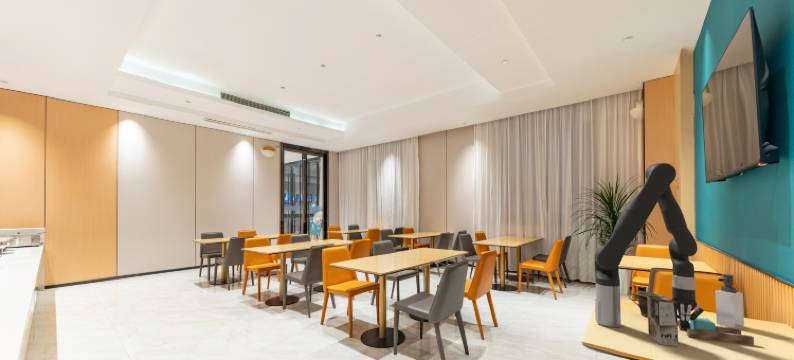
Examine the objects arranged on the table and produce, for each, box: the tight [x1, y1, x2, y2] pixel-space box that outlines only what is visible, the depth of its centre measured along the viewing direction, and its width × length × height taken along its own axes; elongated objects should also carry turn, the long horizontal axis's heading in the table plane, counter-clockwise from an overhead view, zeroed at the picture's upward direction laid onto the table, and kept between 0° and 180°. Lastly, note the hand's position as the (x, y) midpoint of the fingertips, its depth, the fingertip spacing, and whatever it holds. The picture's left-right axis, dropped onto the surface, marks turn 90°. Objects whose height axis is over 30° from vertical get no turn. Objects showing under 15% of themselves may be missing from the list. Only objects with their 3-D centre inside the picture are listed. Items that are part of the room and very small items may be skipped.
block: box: [689, 317, 716, 332], centre depth 141 cm, size 6×6×6 cm
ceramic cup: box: [628, 291, 662, 318], centre depth 165 cm, size 13×10×10 cm
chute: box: [678, 322, 755, 346], centre depth 140 cm, size 20×10×3 cm, turn 69°
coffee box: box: [647, 295, 679, 347], centre depth 135 cm, size 9×6×16 cm
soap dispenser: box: [715, 273, 745, 329], centre depth 153 cm, size 6×9×22 cm
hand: (684, 329), depth 143 cm, fingers closed
